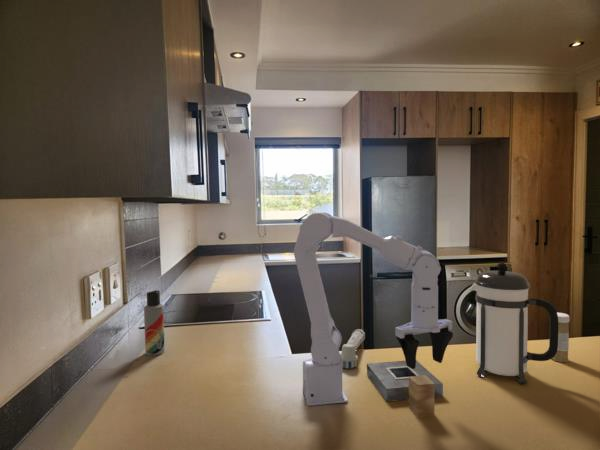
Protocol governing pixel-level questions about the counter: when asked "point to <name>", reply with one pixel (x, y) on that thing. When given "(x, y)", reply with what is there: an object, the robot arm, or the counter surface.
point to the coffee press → (507, 324)
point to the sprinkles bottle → (562, 338)
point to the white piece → (352, 349)
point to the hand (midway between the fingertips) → (424, 364)
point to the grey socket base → (398, 379)
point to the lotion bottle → (154, 324)
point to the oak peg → (421, 395)
